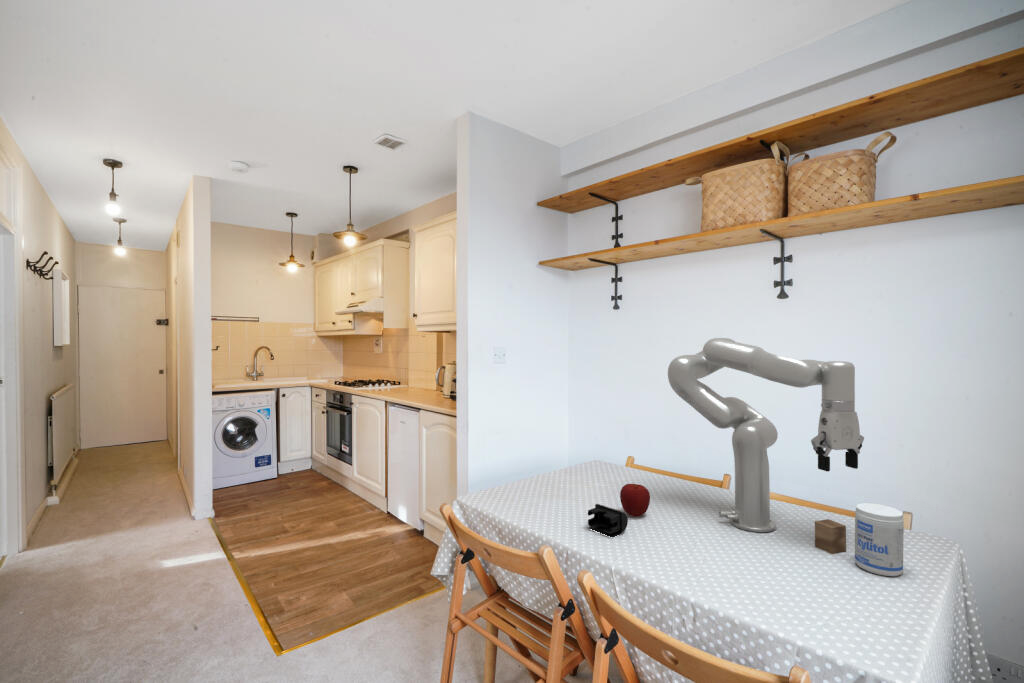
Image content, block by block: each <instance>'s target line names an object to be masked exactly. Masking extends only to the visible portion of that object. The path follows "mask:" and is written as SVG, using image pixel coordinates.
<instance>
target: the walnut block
mask: <svg viewBox="0 0 1024 683" xmlns="http://www.w3.org/2000/svg"><path fill="white" fill-rule="evenodd" d="M814 547H815V548H817V549H819V550H820V551H821V550H822V551H824V552H826V553H828V554H829V555H830V554H831V555H836V554H842V553H847V525H845V524H842V523H839V522H837V521H835V520H832V519H829V518H828V519H827V518H826V519H821V520H815V521H814Z"/></svg>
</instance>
